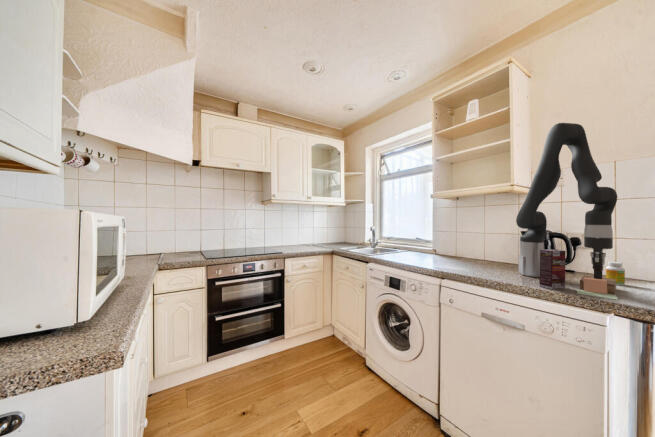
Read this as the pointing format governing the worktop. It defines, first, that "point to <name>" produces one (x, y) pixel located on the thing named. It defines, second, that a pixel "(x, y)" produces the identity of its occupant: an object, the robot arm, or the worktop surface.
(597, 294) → the mat
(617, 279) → the supplement bottle
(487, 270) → the worktop surface
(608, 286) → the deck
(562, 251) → the supplement box
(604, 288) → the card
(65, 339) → the worktop surface
